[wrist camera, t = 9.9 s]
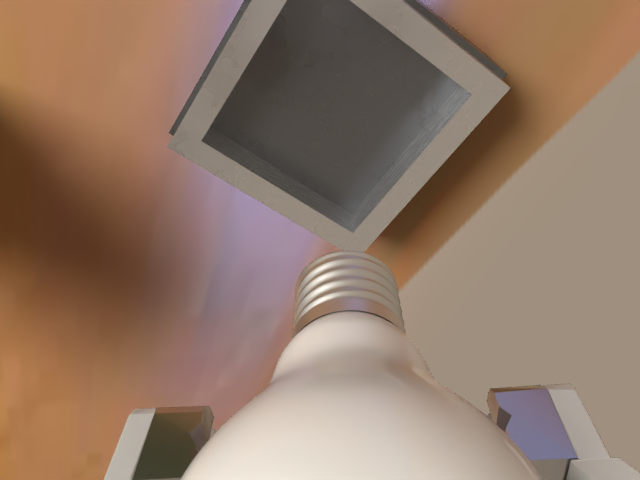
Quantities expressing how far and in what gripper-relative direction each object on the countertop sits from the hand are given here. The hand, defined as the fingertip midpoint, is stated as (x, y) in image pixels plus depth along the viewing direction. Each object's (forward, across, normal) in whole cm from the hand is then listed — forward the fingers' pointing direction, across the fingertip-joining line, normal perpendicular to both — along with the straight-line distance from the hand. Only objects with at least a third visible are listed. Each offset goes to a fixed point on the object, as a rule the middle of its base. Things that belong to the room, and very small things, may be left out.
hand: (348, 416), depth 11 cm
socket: (+21, 0, 0) cm, 21 cm away
